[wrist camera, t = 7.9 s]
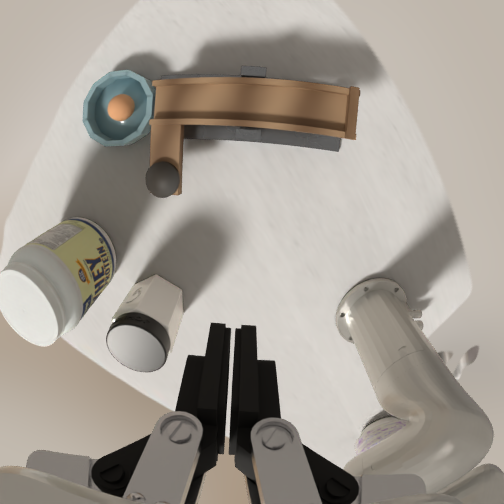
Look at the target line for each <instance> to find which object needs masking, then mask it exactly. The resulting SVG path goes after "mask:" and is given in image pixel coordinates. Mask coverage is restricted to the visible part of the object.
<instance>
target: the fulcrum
mask: <svg viewBox="0 0 504 504" xmlns="http://www.w3.org/2000/svg"><path fill="white" fill-rule="evenodd" d="M200 77H246V78H265V77H266V68H265V67H253V66H242V68H241V76H236V75H164V76H161V80H165V79H179V78H200ZM267 79H275V78H267ZM281 80H284V79H281ZM184 139H215V140H234V141H249V142H262V143H273V144H283V145H292V146H300V147H308V148H316V149H323V150H330V151H337V152H339V144H340V138H339V137H333V136H326V135H319V134H312V133H305V132H297V131H288V130H278V129H268V128H255V127H241V126H221V125H184Z"/></svg>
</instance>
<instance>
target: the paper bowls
mask: <svg viewBox="0 0 504 504" xmlns="http://www.w3.org/2000/svg"><path fill="white" fill-rule="evenodd" d="M408 422H409V421H407V420H404V419H397V418H394V417H388V418H383V419H380V420H377V421H375V422H373V423H371V424H370V425H368V426H367V427H366V428H365V429H364V430H363V431H362V433H361V436H360V437H359V438H358V440H357V441H356V442H355V445H354V447H355V451H356V454H357V455H359V454H361V453H362V452H364V451H366V450H368V449H369V448H371V447H373V446H375V445H376V444H378V443H380V442H381V441H383V440H385V439H386V438H388V437H390V436H391V435H393V434H395V433H396V432H397V431H398V430H400V429H401V428H403V427H404V426H405V425H406V424H408Z"/></svg>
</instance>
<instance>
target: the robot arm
mask: <svg viewBox="0 0 504 504" xmlns="http://www.w3.org/2000/svg"><path fill="white" fill-rule="evenodd" d="M421 316H422V311H421V310H411V309H410V308H409V307H408V306H407V298H406V294H405V292H404V290H403V289H402V288H401V287H400V286H399V285H398V284H397V283H396V282H394V281H392V280H390V279H386V278H376V279H371V280H367V281H365V282H363V283H361V284H359V285H357V286H356V287H354V288H353V289H352V290H350V291H349V292H348V293H347V294H346V296H345V297H344V298H343V299H342V301H341V303H340V305H339V306H338V309H337V312H336V326H337V328H338V331H339V333H340V335H341V336H342V337H343V338H344V339H345V340H347V341H348V342H351V343H353V344H355V346H356V348H357V350H358V353H359V355H360V357H361V360H362V362H363V365H364V367H365V369H366V372H367V374H368V377H369V379H370V381H371V384H372V386H373V389H374V391H375V394H376V396H377V399H378V401H379V403H380V405H381V407H382V408H383V409H384V410H385V411H386V412H387V413H389V414H391V415H392V416H395V417H397V418H400V419H404V420H408V421H409V422H408V424H406V425H405V426H404V427H403V428H401V429H400V430H398V431H397V432H396V433H395V434H393V435H391V436H390V437H388V438H386V439H385V440H383V441H381V442H380V443H378V444H376V445H375V446H373V447H371V448H369V449H368V450H366V451H364V452H362V453H361V454H359V455H357V456H356V457H354V458H353V459H352V460H350V461H349V462H348V463H347V464H346V465H345V467H344V469H341V468H340V467H338V466H336V465H335V464H333V463H331V462H330V461H328V460H327V459H325V458H323V457H322V456H320V455H319V454H317V453H316V452H314V451H313V450H311V449H309V448H308V447H306V446H305V445H303V444H302V443H301V439H300V436H299V433H298V431H297V429H296V428H295V426H293V425H292V424H291V423H290V422H288V421H286V420H284V419H281V414H280V404H279V394H278V384H277V374H276V365H275V361H270V360H257V338H256V326H251V325H241V329H237V328H236V330H235V346H234V363H233V380H232V399H231V418H230V439H229V455H235V467H236V468H238V470H240V471H241V472H242V473H243V474H244V478H245V484H246V489H247V495H248V500H249V504H504V473H503V472H502V471H501V469H500V468H499V467H497V466H496V465H493V464H484V465H481V466H479V467H476V468H474V467H475V466H477V465H478V463H480V462H481V460H482V459H483V458H484V457H485V456H486V454H487V453H488V451H489V449H490V447H491V445H492V442H493V427H492V424H491V422H490V420H489V418H488V417H487V415H486V414H485V413H484V411H483V410H482V409H481V408H480V407H479V406H478V404H477V403H476V402H475V401H474V400H473V399H472V398H471V397H470V396H469V395H468V393H466V391H465V390H464V389H463V388H462V386H460V384H459V383H458V382H457V380H456V379H455V377H454V376H453V375H452V373H451V372H450V371H449V369H448V368H447V366H446V365H445V363H444V362H443V361H442V359H441V358H440V356H439V355H438V353H437V352H436V350H435V349H434V347H433V346H432V345H431V343H430V342H429V340H428V339H427V337H426V336H425V335H424V333H423V332H422V329H423V322H422V321H421V320H419V321H414V319H413V318H421ZM230 338H231V328H226V324H221V323H211V325H210V331H209V337H208V343H207V348H206V354H205V356H195V355H188V357H187V361H186V365H185V369H184V374H183V378H182V383H181V387H180V392H179V396H178V401H177V405H176V410H175V412H170V413H167V414H165V415H163V416H162V417H161V418H159V420H158V421H157V423H156V425H155V427H154V429H153V431H152V433H151V434H150V435H148V436H146V437H144V438H142V439H140V440H138V441H136V442H134V443H132V444H130V445H128V446H126V447H123V448H121V449H119V450H117V451H115V452H113V453H110V454H108V455H106V456H104V457H102V458H100V459H91V458H90V457H89V456H79V455H71V454H64V453H58V452H52V451H46V450H37V451H34V452H33V453H32V454H31V455H30V456H29V457H28V460H27V465H26V467H19V466H2V467H0V504H198V501H199V498H200V495H201V491H202V488H203V484H204V480H205V477H206V472H207V471H208V470H210V469H211V468H213V467H214V466H216V461H217V460H218V454H224V443H225V426H226V410H227V395H228V379H229V358H230ZM473 468H474V469H473ZM472 469H473V470H472Z"/></svg>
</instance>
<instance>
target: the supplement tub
mask: <svg viewBox="0 0 504 504" xmlns="http://www.w3.org/2000/svg"><path fill="white" fill-rule="evenodd" d="M115 269H116V255H115V250H114V247H113V244H112V242H111V240H110V238H109V237H108V235H107V234H106V232H105V231H104V230H103V229H102V228H101V227H100V226H99V225H97V224H96V223H94V222H92V221H91V220H88V219H85V218H79V217H74V218H69V219H66V220H64V221H62V222H61V223H59V224H58V225H56V226H54V227H53V228H51V229H49V230H48V231H46V232H45V233H43V234H41V235H40V236H38V237H37V238H35V239H34V240H32V241H31V242H29V243H27V244H26V245H24V246H23V247H21V248H19V249H18V250H17V251H16V252H15V253H14V254H13V255H12V257H11V258H10V260H9V263H8V265H7V266H6V267H5V268H4V270H3V271H2V272H1V273H0V310H1V312H2V314H3V316H4V317H5V319H6V320H7V322H8V323H9V325H10V326H11V327H12V328H13V329H14V330H15V331H16V332H17V333H18V334H19V335H20V336H21V337H23V338H24V339H25V340H27V341H29V342H30V343H33V344H35V345H38V346H48V345H51V344H53V343H54V342H55V341H56V339H57V338H59V337H60V336H61V335H64V334H66V333H68V332H70V331H71V330H73V329H74V328H75V327H76V326H77V325H78V323H79V321H80V320H81V319H82V317H83V316H84V315H85V313H86V312H87V311H88V309H89V308H90V307H91V305H92V304H93V303H94V302H95V300H96V299H97V298H98V297H99V295H100V294H101V293H102V291H103V290H104V289H105V288H106V286H107V285H108V284H109V283H110V282H111V280H112V278H113V276H114V273H115Z"/></svg>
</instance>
